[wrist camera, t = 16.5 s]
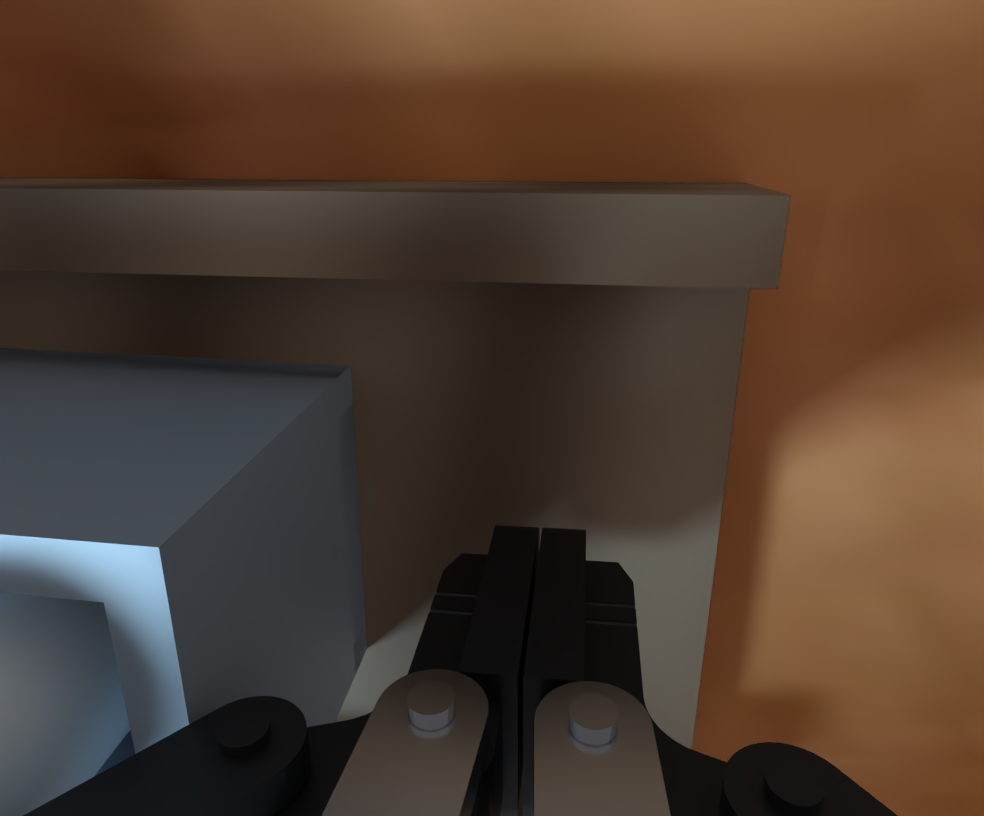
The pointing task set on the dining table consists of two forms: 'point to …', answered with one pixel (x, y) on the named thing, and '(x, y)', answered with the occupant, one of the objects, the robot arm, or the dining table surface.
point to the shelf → (449, 359)
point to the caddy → (167, 552)
